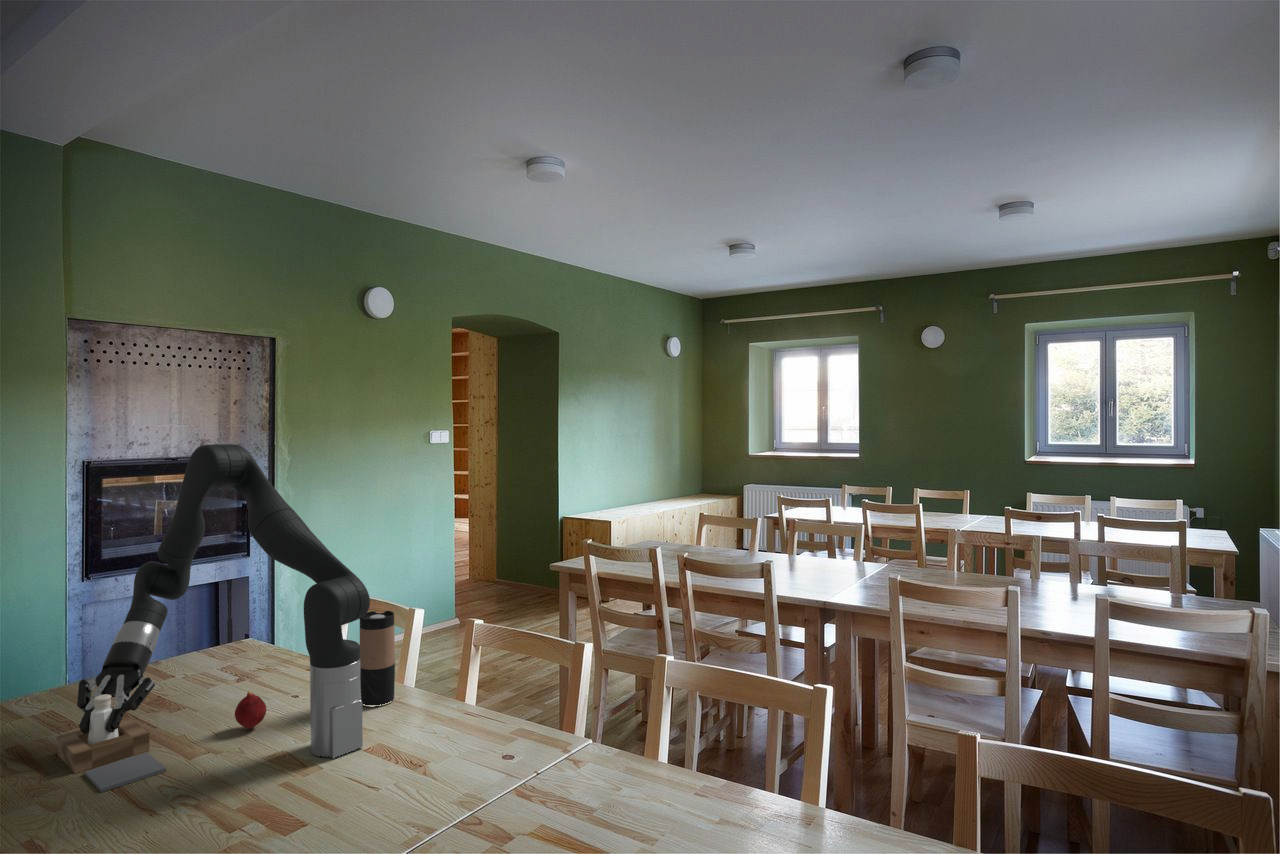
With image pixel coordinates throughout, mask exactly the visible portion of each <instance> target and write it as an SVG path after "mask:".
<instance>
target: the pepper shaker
mask: <svg viewBox="0 0 1280 854" xmlns="http://www.w3.org/2000/svg"><path fill="white" fill-rule="evenodd" d="M111 699H112V698H111V695H108V694H105V695H100V696H97V697H95V698H94V702H95V703H94V706H95V709H94V710H93V711H92V712H91V716H90V726H89V735H88V745H91V744H94V743H98V742H101V741H105V740H108V739H112V738H115V737H119V734H118V728H117V729H115V731H114V732H111V733H109V732H108V731H106V730H105V727H106V724H107V722H108V720H109V717H110V715H111V713H112V710H115V709H116V708H115V706H112V700H111Z"/></svg>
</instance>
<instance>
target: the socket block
mask: <svg viewBox="0 0 1280 854" xmlns="http://www.w3.org/2000/svg"><path fill="white" fill-rule="evenodd" d="M118 734H119V737H115V738H112V739H108V740H105V741H101V742H98V743H94V744H91V745H88V735H89V733H85V734H84V733H83V732H82V731H81V730H77V731H76V730H75V731H72V732H69V733H65V734H64V733H63V734H62V735H57V736H56V755H57V756H58V758H60V759H61V761H62V762H63V761H64V762H65V763H64V762H63V763H64V764H65V765H66V766H67V767H68V768H69V769H70V770H71V771H72V773H74V774H77V773H80V772H85V771H88V770H91V769H94V768H98V767H101V766H104V765H107V764H111V763H114V762H117V761H120V760H124V759H127V758H130V757H134V756H137V755H140V754H143V753H148V752H150V732H148V730H146V729H145V728H143V727H142V726H141V725H140V724H138V723H137V722H136V721H135V720H133V719H132V718H131V717H130V716H128V717H124V718H122V720H121V722H120V725H119V727H118Z"/></svg>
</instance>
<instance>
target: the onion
mask: <svg viewBox="0 0 1280 854" xmlns="http://www.w3.org/2000/svg"><path fill="white" fill-rule="evenodd" d="M266 712H267V705H266V703H265V701H264V700H263V699H262V698H261V697H260V696H259V695H256V694H254V693H253V692H252V691H251V690H248V691H247V693H246V696H245V697H243V698H242V699H241V700H240V701H239V702H238V703H237V705H236V707H235V709H234V718H235V721H236V722H237V724H238V725H240V726H241V727H243V728H245V729H246V730H249V729H250V730H253V729H254V728H255V727H257V726H258V725H259V724H260V723H262V721H263V720H264V718H265V716H266Z"/></svg>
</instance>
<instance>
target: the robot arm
mask: <svg viewBox="0 0 1280 854" xmlns="http://www.w3.org/2000/svg"><path fill="white" fill-rule="evenodd" d="M187 462H188V463H187V464H186V468H185V472H184V476H183V480H182V484H181V486H180V491H179V494H178V499H177V503H176V505H175V506H176V507H175V510H174V513H173V517H172V519H171V521H170V524H169V526H168V528H167V530H166V531H165V534H164V536H163V538H162V540H161V543H160V545H159V546H158V549H157V557H158V559H159V560H160V561H161V562H159V561H153V560H151V561H149V560H148V561H147V562H145V563H143V564H142V565H141V566H139V567H138V569H137V570H136V572H135V576H134V580H133V592H132V593H133V594H132V599H131V600H132V601H131V605H130V608H129V610H128V612H127V614H126V616H125V619H124V621H123V624H122V626H121V627H120V629H119V631H118V632H117V634H116V636H115V638H114V640H113V642H112V644H111V647H110V648H109V651H108V653H107V655H106V658H105V660H104V662H103V664H102V669H101V671H100V672H99V673H98V674H97V675H96V677H95V678H94V679H89V680H86V679H81V680H79V683H78V689H77V690H78V691H77V692H78V693H77V704H76V707H77V708H78V709H79V710H81V711H82V712H83V716H82V718H81V720H80V723H79V725H78V728H79V729H80V730H81V731H82V732H83V733H84V734H85V733H89V726H90V716H91V712H92V711H93V710H94V709H95V706H94V703H95V702H94V698H95V697H97V696H100V695H105V694H108V695H111V699H112V698H115V704H114V705H115V706H114V708H115V710H112V713H111V715H110V717H109V720H108V722H107V724H106V727H105V730H106V731H108V732H109V733H111V732H114V731H115V729H117V728H118V727H119V725H120V722H121V720H122V719H124V718H123V717H124V715H125V714H126V713H127V712H129V711H132V712H133V711H136V710H138V708H139V707H140V706H141V704H142V703H143V702H144V700H145V699H146V698H147V697H148V696H149V694H150V692H151V691H153V689H154V687H155V686H156V683H155V682H154V681H153V680H152V678H151V677H146V678H145V677H144V674H145V672H146V671H147V668H148V665H149V662H150V661H151V658H152V656H153V653H154V652H155V649H156V647H157V643H158V641H159V635H160V634H161V630H162V628H163V625H164V623H165V622H166V621H165V620H166V618H167V616H168V609H169V608H168V607H167V605H165V604H164V603H162V601H159V600H158V599H155V598H153V597H157V598H162V599H165V600H170V601H174V600H177V599H180V598H181V597H183V596H184V595H185V594H186V592H187V591H188V588H189V586H190V580H191V569H192V564H193V560H194V557H195V555H196V553H197V551H198V549H199V547H200V545H201V543H202V541H203V538H204V535H205V533H206V522H205V521H206V520H205V518H204V513H203V508H202V505H203V501H204V499H205V497H206V495H207V494H208V492H209V491H210V490H211V489H212V488H213V489H214V488H225V487H226V488H227V487H229V488H233V489H235V490H236V491H237V492H238V493H239V494H240V495H241V497H242V498H243V499H244V500H245V502H246V503H247V506H248V508H247V509H248V510H247V511H248V512H247V527H248V531H249V533H250V535H251V537H252V538H253V540H254V541H255V542H256V543H257V545H259V546H260V547H261V549H262V550H263V551H264V552H265V553H266V554H267V556H268V557H270V558H272V559H273V560H275V561H276V562H278V563H280V564H282V565H284V566H286V567H288V568H290V569H292V570H294V571H296V572H299V573H301V574H303V575H305V576H307V577H308V578H309V579H311V580H312V581H314V584H312V586H310V587H309V588H308V589H307V591H306V592H305V596H304V599H303V620H304V621H303V622H304V636H305V637H304V638H305V640H304V641H305V646H306V649H307V654H308V655H309V689H310V690H309V693H310V694H309V695H310V696H309V697H310V698H309V699H310V701H309V702H310V704H309V705H310V706H309V707H310V708H309V709H310V711H309V712H310V713H309V715H310V716H309V717H310V753H311V754H312V753H313V754H312V755H314V756H317V757H320V756H322V758H331V757H332V758H331V759H336V758H335V757H337V756H339V757H341V756H340V755H342V756H344V755H343V754H345V753H347V754H349V753H348V752H350V753H352V752H351V751H353V752H355V751H357V750H356V749H358V748H361V747H363V745H364V744H363V741H364V740H363V732H364V731H363V729H364V728H363V705H362V701H361V684H360V643H359V642H357V641H354V640H351V639H345V638H344V637H343V629H342V628H343V627H342V626H343V625H344V626H345V625H346V624H347V625H348V624H350V623H352V622H355V621H357V620H358V621H359V620H360V618H362V617H363V616H364V615H365V614H366V613H367V612H369V610H370V605H371V598H370V594H369V591H368V589H367V587H366V586H365V584H364V583H363V581H362V580H361V579H360V577H358V576H357V575H356V574H355V573H354V572H353V571H351V570H350V568H348V567H347V566H346V565H345V564H344V563H343V562H342V561H341V560H340V559H338V558H337V557H336V556H335V555H334V554H333V553H332V552H331V551H330V550H329V549H328V548H327V546H325V544H323V542H322V541H321V540H320V539H319V538H318V537H317V536H316V535H315V534H314V533H313V531H312V530H311V529H310V527H308V525H307V524H306V523H305V522H304V520H303V519H302V518H301V516H299V514H298V513H297V512H296V511H295V510H294V509H293V507H291V506H290V505H289V504H288V503H287V501H286V500H285V499H284V498H283V496H282V495H281V494H280V493H279V492H278V491H277V489H276V488H275V486H274V485H273V484H272V483H271V481H270V480H269V479H268V478H267V476H266V475H265V473H264V471H263V470H262V468H261V467H260V465H259V464H258V462H257V461H256V460H255V458H254V457H253V456H252V454H251V453H250V452H249V450H247V449H246V448H245V447H243V446H241V445H238V444H234V443H233V444H232V443H229V444H228V443H227V444H225V443H224V444H222V443H219V444H218V443H217V444H215V443H214V444H211V443H210V444H204V445H199V446H198V447H196V449H195V450H194V451H193V452H192V454H191V455H190V457H189V460H188V461H187ZM152 596H153V597H152ZM95 687H97V688H96V689H95ZM135 688H136V689H135ZM134 689H135V690H134ZM132 691H134V692H133V693H132ZM92 692H93V693H92ZM131 693H132V694H131ZM361 749H362V748H361ZM354 750H355V751H354ZM358 750H359V749H358ZM345 755H346V754H345ZM324 756H326V757H324ZM328 756H329V757H328ZM337 758H338V757H337Z"/></svg>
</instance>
